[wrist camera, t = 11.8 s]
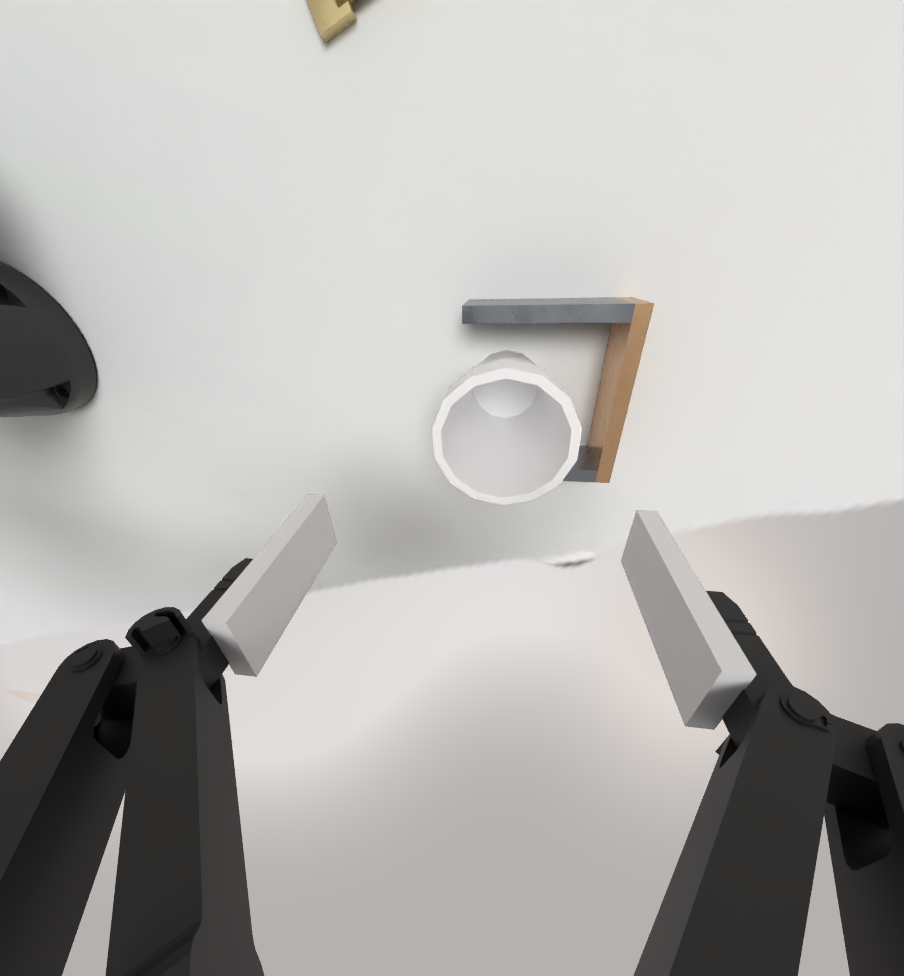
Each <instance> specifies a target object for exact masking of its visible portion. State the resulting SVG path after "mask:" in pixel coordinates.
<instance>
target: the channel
mask: <svg viewBox="0 0 904 976" xmlns="http://www.w3.org/2000/svg"><path fill="white" fill-rule="evenodd" d="M653 306H654V303H651V302H647V301H644V300H640V299H637V298H633V297H629V298H559V299H490V300H468V301H467V302H466V303H465V304H464V305H463V306H462V324H489V323H612V326H611V331H610V336H609V341H608V346H607V351H606V356H605V361H604V366H603V371H602V376H601V381H600V386H599V391H598V396H597V401H596V406H595V411H594V416H593V421H592V426H591V431H590V436H589V441H588V446H579V453H578V459H577V461H576V462H575V464H574V465H573V467H572V468H571V469H570V471H569V472H568V474H567V475H566V476H565V478H564V479H563V481H580V482H600V483H609V482H610V478H611V474H612V470H613V466H614V462H615V458H616V454H617V450H618V446H619V442H620V438H621V434H622V430H623V426H624V422H625V418H626V414H627V410H628V406H629V402H630V398H631V394H632V390H633V386H634V382H635V378H636V374H637V370H638V366H639V362H640V358H641V354H642V350H643V346H644V342H645V338H646V334H647V330H648V326H649V322H650V318H651V314H652V310H653Z"/></svg>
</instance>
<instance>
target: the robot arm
mask: <svg viewBox="0 0 904 976" xmlns="http://www.w3.org/2000/svg"><path fill="white" fill-rule="evenodd" d="M95 389H96V370H95V366H94V362H93V359H92V356H91V353H90V351H89V349H88V346H87V344H86V342H85V341H84V339H83V337H82V335H81V334H80V332H79V330H78V329H77V327H76V326H75V324H74V323H73V322H72V320H71V319H70V318H69V316H68V315H67V314H66V313H65V311H64V310H63V309H62V308H61V307H60V306H59V305H58V304H57V303H56V302H55V300H54V299H53V298H52V297H51V296H49V295H48V294H47V293H46V292H45V291H44V290H43V289H42V288H41V287H39V286H38V285H37V284H36V283H34V282H33V281H32V280H30V279H29V278H28V277H26V276H25V275H23V274H22V273H20V272H19V271H17V270H15V269H13V268H12V267H10V266H8V265H6V264H4V263H1V262H0V417H20V416H42V415H55V414H60V413H64V412H67V411H70V410H73V409H76V408H79V407H81V406H83V405H85V404H87V403H88V402H89V401H90V400H91V398H92V397H93V395H94V392H95ZM336 543H337V541H336V537H335V534H334V530H333V526H332V522H331V519H330V515H329V511H328V507H327V503H326V500H325V496H324V495H312V494H308V495H307V496H306V497H305V498H304V500H303V501H302V502H301V503H300V504H299V506H298V507H297V508H296V509H295V510H294V511H293V513H292V514H291V515H290V516H289V517H288V519H287V520H286V521H285V522H284V523H283V524H282V526H281V527H280V528H279V529H278V530H277V532H276V533H275V534H274V535H273V536H272V538H271V539H270V540H269V541H268V542H267V543H266V545H265V546H264V547H263V548H262V549H261V551H260V552H259V553H258V554H257V555H256V556H255V558H254V559H248V558H245V559H244V560H243V561H241V562H240V563H238V564H237V565H235V566H234V567H232V568H231V569H230V571H229V572H228V573H227V574H226V575H225V576H224V577H223V578H222V581H220V582H219V583H218V584H217V585H216V586H215V587H214V590H212V591H211V592H210V593H209V594H208V595H207V596H206V598H205V599H204V600H203V601H202V602H201V603H200V604H199V605H198V607H197V608H196V609H195V610H194V611H193V612H192V613H191V614H190V616H189V617H188V618H187V619H185V618H184V616H183V615H182V613H181V612H180V610H179V609H176V608H174V607H165V608H161V609H158V610H155V611H153V612H151V613H148V614H146V615H145V616H143V617H142V618H140V619H139V620H138V621H136V622H135V623H134V624H133V626H132V627H131V628H130V629H129V630H128V632H127V635H126V637H125V638H126V639H127V640H128V641H129V642H130V644H131V645H132V646H131V647H126V648H121V649H120V648H119V647H118V646H117V645H116V644H115V643H114V641H111V640H108V639H104V640H97V641H95V642H92V643H89V644H86V645H85V646H83V647H81V648H79V649H78V650H76V651H74V652H73V653H72V654H71V655H70V656H68V657H67V658H66V659H65V660H64V661H63V662H62V663H61V665H60V666H59V667H58V669H57V670H56V672H55V673H54V675H53V677H52V678H51V680H50V682H49V683H48V685H47V686H46V688H45V690H44V691H43V693H42V694H41V696H40V698H39V699H38V701H37V703H36V704H35V706H34V708H33V709H32V711H31V712H30V714H29V716H28V717H27V719H26V720H25V722H24V724H23V725H22V727H21V729H20V730H19V732H18V733H17V735H16V737H15V738H14V740H13V741H12V743H11V745H10V746H9V748H8V749H7V751H6V753H5V754H4V756H3V758H2V759H1V761H0V976H62V973H63V970H64V967H65V964H66V962H67V959H68V956H69V953H70V950H71V947H72V944H73V941H74V938H75V935H76V932H77V930H78V927H79V924H80V921H81V918H82V915H83V912H84V909H85V906H86V903H87V901H88V898H89V894H90V892H91V889H92V886H93V883H94V880H95V877H96V874H97V871H98V868H99V866H100V863H101V860H102V857H103V854H104V851H105V848H106V845H107V842H108V840H109V837H110V834H111V831H112V828H113V825H114V822H115V819H116V816H117V813H118V810H119V807H120V805H121V802H122V799H123V796H124V793H125V801H124V810H123V819H122V828H121V838H120V847H119V856H118V866H117V875H116V884H115V894H114V903H113V913H112V921H111V922H112V923H111V931H110V941H109V949H108V959H107V968H106V976H264V973H263V969H262V965H261V963H260V960H259V958H258V955H257V953H256V950H255V946H254V942H253V935H252V928H251V917H250V908H249V899H248V889H247V880H246V871H245V862H244V852H243V843H242V834H241V824H240V815H239V806H238V796H237V787H236V778H235V768H234V759H233V750H232V740H231V731H230V722H229V713H228V703H227V695H226V685H225V679H224V677H223V675H222V673H223V672H224V670H225V669H226V667H227V666H228V664H229V665H230V667H231V668H232V670H233V671H234V673H235V674H238V675H247V676H255V677H257V675H258V674H259V672H260V670H261V669H262V667H263V665H264V664H265V662H266V660H267V659H268V657H269V655H270V654H271V652H272V650H273V649H274V647H275V645H276V644H277V642H278V640H279V639H280V637H281V635H282V634H283V632H284V630H285V628H286V627H287V625H288V623H289V622H290V620H291V618H292V617H293V615H294V613H295V611H296V610H297V608H298V607H299V605H300V603H301V602H302V600H303V598H304V597H305V595H306V593H307V592H308V590H309V588H310V587H311V585H312V583H313V582H314V580H315V578H316V577H317V575H318V573H319V572H320V570H321V568H322V567H323V565H324V563H325V561H326V560H327V558H328V556H329V555H330V553H331V551H332V550H333V548H334V546H335V545H336ZM621 562H622V565H623V567H624V570H625V573H626V575H627V578H628V580H629V583H630V585H631V588H632V591H633V593H634V596H635V598H636V601H637V603H638V606H639V609H640V611H641V614H642V616H643V619H644V622H645V624H646V627H647V629H648V632H649V634H650V637H651V639H652V642H653V645H654V647H655V650H656V653H657V655H658V658H659V660H660V663H661V665H662V668H663V670H664V673H665V676H666V678H667V681H668V683H669V686H670V689H671V691H672V693H673V696H674V699H675V701H676V704H677V706H678V709H679V712H680V714H681V717H682V720H683V722H684V725H685V726H688V727H697V728H706V729H715V728H716V727H717V725H718V724H719V723H720V721H721V720H722V719H723V721H724V723H725V725H726V727H727V729H728V731H729V733H730V735H729V736H728V737H727V738H726V739H725V741H724V742H723V743H722V744H721V746H720V747H719V748H718V749H717V750H716V753H718V754H719V758H718V760H717V763H716V766H715V768H714V771H713V773H712V776H711V779H710V781H709V784H708V786H707V788H706V791H705V794H704V796H703V799H702V801H701V804H700V806H699V809H698V812H697V814H696V817H695V820H694V822H693V825H692V827H691V830H690V832H689V835H688V837H687V840H686V843H685V845H684V848H683V850H682V853H681V855H680V858H679V860H678V863H677V866H676V868H675V871H674V873H673V876H672V878H671V881H670V884H669V886H668V889H667V891H666V894H665V896H664V899H663V902H662V904H661V907H660V909H659V912H658V914H657V917H656V919H655V922H654V925H653V927H652V930H651V932H650V935H649V937H648V940H647V943H646V945H645V948H644V950H643V953H642V955H641V958H640V961H639V963H638V966H637V968H636V971H635V973H634V976H798V969H799V963H800V957H801V951H802V945H803V939H804V933H805V927H806V921H807V915H808V909H809V903H810V896H811V890H812V884H813V878H814V872H815V866H816V860H817V853H818V847H819V842H820V836H821V830H822V824H823V817H824V816H825V822H826V828H827V835H828V841H829V847H830V853H831V860H832V866H833V872H834V878H835V884H836V891H837V897H838V903H839V909H840V916H841V922H842V928H843V935H844V941H845V947H846V953H847V960H848V966H849V972H850V976H904V725H902V724H898V723H896V724H895V723H894V724H886V725H885V726H883V727H882V728H881V729H879V730H878V731H875V730H872V729H869V728H866V727H864V726H861V725H858V724H855V723H853V722H850V721H847V720H844V719H842V718H839V717H836V716H834V715H832V714H830V713H829V711H828V710H827V709H826V708H825V707H824V706H823V705H822V704H821V703H820V702H819V701H818V700H816V699H814V698H813V697H812V696H810V695H809V694H808V693H806V692H805V691H802V690H800V689H798V688H796V687H793V685H792V684H791V683H790V682H789V680H788V679H787V677H786V676H785V674H784V673H783V671H782V670H781V669H780V667H779V665H778V664H777V662H776V661H775V660H774V658H773V657H772V655H771V654H770V652H769V651H768V649H767V648H766V646H765V645H764V643H763V642H762V640H761V639H760V637H759V636H757V635H756V631H755V630H754V629H753V627H752V626H751V624H750V623H748V620H747V618H746V617H745V615H744V614H743V612H742V611H741V610H740V608H739V607H738V605H737V604H736V603H734V602H733V601H732V600H731V599H730V598H728V597H727V596H726V595H725V594H724V593H723V592H714V591H705V589H704V587H703V586H702V584H701V582H700V581H699V579H698V577H697V576H696V574H695V573H694V571H693V569H692V568H691V566H690V564H689V563H688V561H687V559H686V558H685V556H684V554H683V553H682V552H681V550H680V548H679V546H678V545H677V543H676V542H675V540H674V538H673V537H672V535H671V533H670V532H669V530H668V528H667V527H666V525H665V523H664V522H663V520H662V518H661V517H660V515H659V514H658V512H657V511H644V510H637V511H636V514H635V517H634V520H633V524H632V527H631V530H630V533H629V536H628V540H627V543H626V546H625V549H624V553H623V556H622V559H621ZM125 790H126V791H125Z"/></svg>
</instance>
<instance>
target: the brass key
mask: <svg viewBox="0 0 904 976" xmlns="http://www.w3.org/2000/svg"><path fill="white" fill-rule="evenodd" d="M355 1H357V0H307V2H308V5H309V8H310V10H311V13H312V16H313V18H314V21H315V23H316V26H317V29H318V31H319V34H320V36H321V37H322V38H323V39H324V40H325V42H328V41H329V40H330V39H332V38H333V37H334V36H336V35H337V34H338V33H340V32H341V31H342V30H344V29H345V28H346V27H348V26H349V25H351V24H352V23H353V22H355V21H356V20H357V18H356V15H355V12H354V9H353V6H352V4H353V3H354V2H355Z"/></svg>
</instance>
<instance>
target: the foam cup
mask: <svg viewBox="0 0 904 976" xmlns="http://www.w3.org/2000/svg"><path fill="white" fill-rule="evenodd" d="M581 432H582V427H581V425H580V422H579V419H578V417H577V414H576V412H575V409H574V407H573V404H572V401H571V399H570V396H569V394H568V392H567V390H566V388H565V386H564V385H563V384H562V383H560V382H559V381H558V380H557V379H556V378H554V377H553V376H552V375H551V374H550V373H548V372H547V371H546V370H545V369H543V368H542V367H541V366H540V365H536V364H535V363H533V362H532V361H531V360H530V359H529V358H527V357H526V356H525V355H524V354H522V353H518V352H514V351H509V350H505V351H501V352H497V353H494V354H491V355H490V356H488V357H487V358H486V359H485V360H484V361H483V362H481V363H480V364H479V365H478V366H475V367H473V368H472V369H471V370H470V371H468V372H467V373H466V374H465V375H464V376H463V377H461V378H460V379H459V380H458V381H457V382H456V383H454V384H453V385H452V386H451V387H450V388H449V390H448V392H447V394H446V396H445V398H444V400H443V403H442V405H441V407H440V410H439V412H438V415H437V417H436V419H435V422H434V424H433V427H432V437H433V448H434V458H435V460H436V461H437V463H438V464H439V466H440V468H441V469H442V471H443V473H444V474H445V476H446V477H447V479H448V481H449V482H450V483H451V484H453V485H454V486H456V487H457V488H459V489H460V490H462V491H463V492H464V493H466V494H467V495H469V496H470V497H472V498H473V499H477V500H482V501H486V502H491V503H495V504H500V505H507V504H513V503H520V502H526V501H533V500H534V499H536V498H538V497H540V496H541V495H543V494H545V493H546V492H548V491H550V490H552V489H553V488H555V487H557V486H558V485H560V483H561V482H562V481H563V479H564V478H565V476H566V475H567V474H568V472H569V471H570V469H571V468H572V467H573V465H574V464H575V462H576V461H577V459H578V453H579V446H580V439H581Z"/></svg>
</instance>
